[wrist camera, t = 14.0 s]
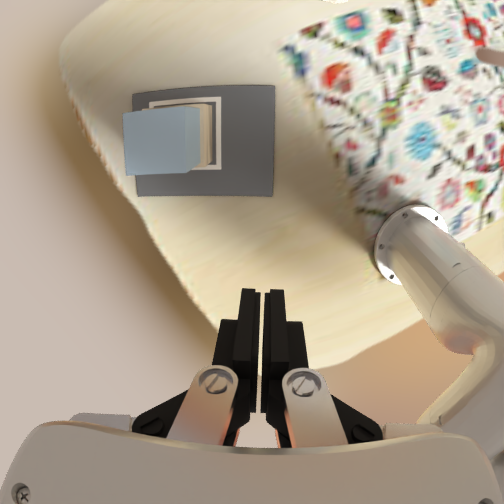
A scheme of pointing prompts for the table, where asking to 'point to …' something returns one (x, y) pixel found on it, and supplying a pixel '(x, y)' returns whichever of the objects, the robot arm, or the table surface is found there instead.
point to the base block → (201, 131)
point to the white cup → (335, 1)
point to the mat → (221, 142)
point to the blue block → (161, 140)
